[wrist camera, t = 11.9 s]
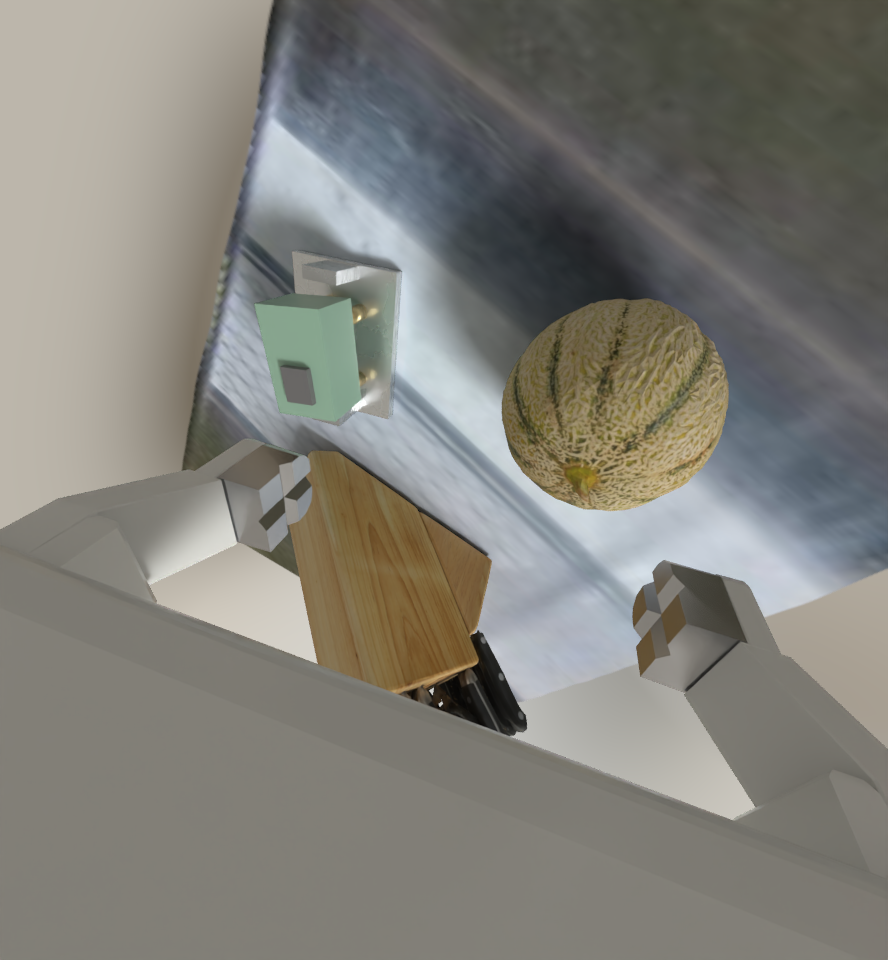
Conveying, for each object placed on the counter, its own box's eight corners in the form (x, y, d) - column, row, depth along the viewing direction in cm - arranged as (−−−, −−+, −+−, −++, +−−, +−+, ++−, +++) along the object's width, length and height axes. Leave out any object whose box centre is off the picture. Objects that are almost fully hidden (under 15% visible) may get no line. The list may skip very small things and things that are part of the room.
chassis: (299, 250, 35) (262, 254, 31) (401, 271, 34) (377, 279, 30) (309, 392, 44) (281, 411, 40) (392, 414, 42) (372, 436, 38)
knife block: (497, 630, 57) (436, 939, 33) (296, 491, 53) (54, 727, 29) (550, 598, 51) (523, 956, 26) (325, 436, 46) (41, 683, 22)
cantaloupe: (730, 290, 28) (840, 343, 16) (662, 461, 37) (702, 578, 25) (526, 278, 32) (494, 315, 20) (506, 437, 40) (475, 532, 28)
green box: (292, 293, 33) (248, 305, 29) (350, 297, 32) (314, 311, 28) (310, 392, 38) (275, 415, 34) (361, 399, 37) (331, 424, 33)
